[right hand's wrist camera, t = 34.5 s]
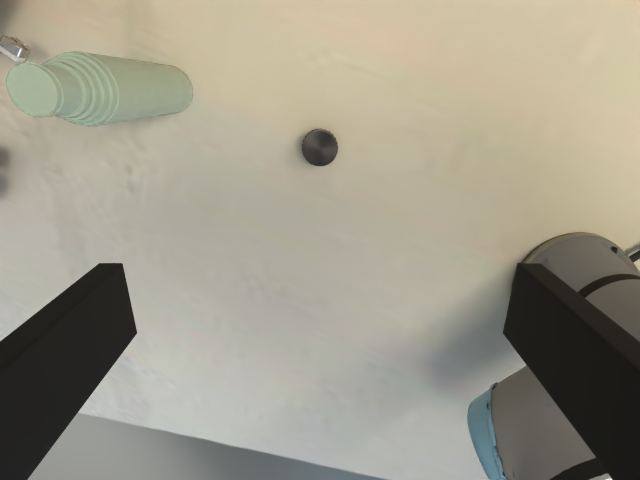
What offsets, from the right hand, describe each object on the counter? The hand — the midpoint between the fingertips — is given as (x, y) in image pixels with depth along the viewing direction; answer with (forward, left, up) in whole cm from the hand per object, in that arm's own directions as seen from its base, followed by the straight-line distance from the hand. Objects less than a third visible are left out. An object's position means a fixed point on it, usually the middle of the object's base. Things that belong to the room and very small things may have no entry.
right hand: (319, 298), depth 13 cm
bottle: (+14, -12, -36) cm, 41 cm away
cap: (0, 0, -35) cm, 35 cm away
